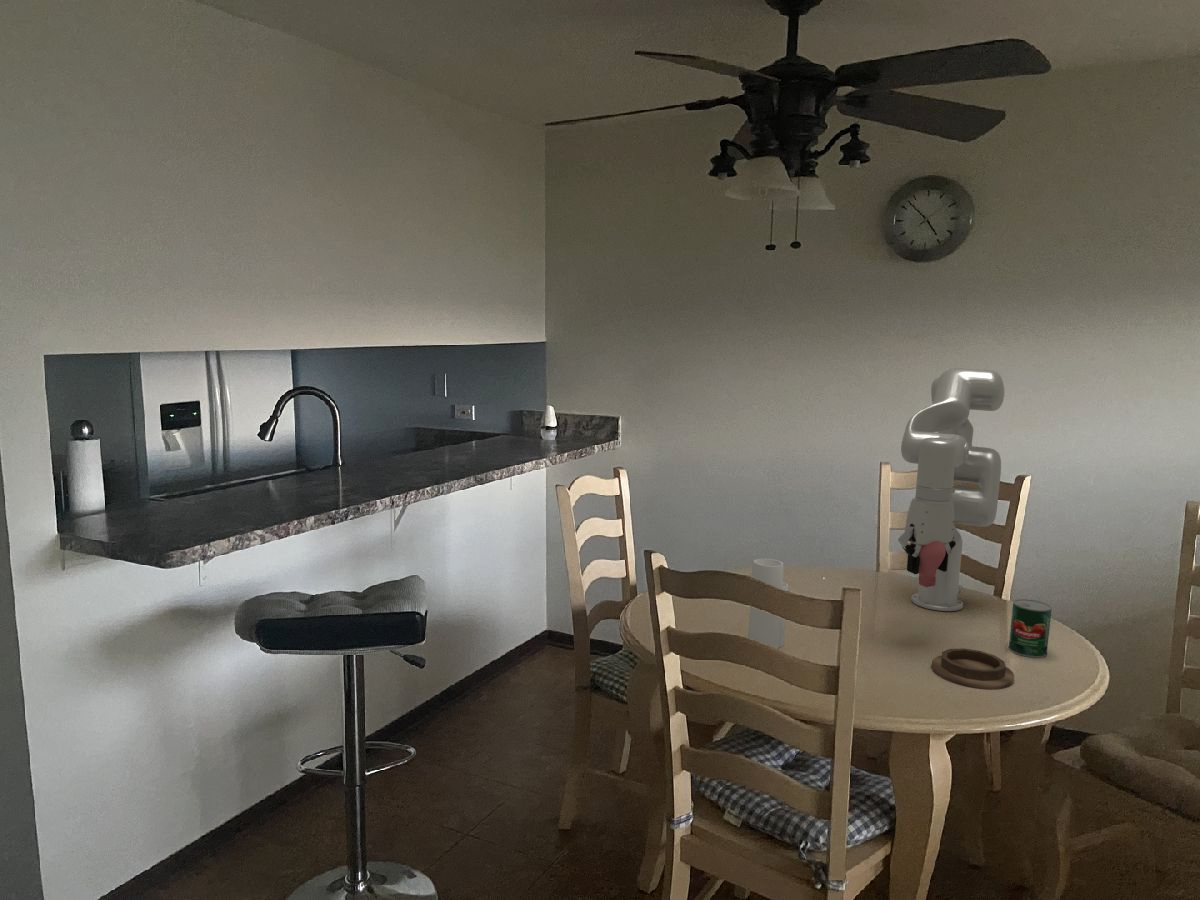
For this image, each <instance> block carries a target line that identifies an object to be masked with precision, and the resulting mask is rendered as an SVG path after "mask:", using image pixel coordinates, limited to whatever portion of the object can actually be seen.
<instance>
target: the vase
mask: <svg viewBox="0 0 1200 900" xmlns="http://www.w3.org/2000/svg"><path fill="white" fill-rule="evenodd" d="M784 566H785V564H784V562H783V561H781V560H777V559H775V558H754V560H752V565H751V579H752V578H755V579H757V580H760V581H762V582H765V583H767V584H770V585H772V586H775V587H777V588H780V589H782V590H785V591H788V592H789V584H788V583H787V582H784V580H783V579H784ZM748 617H749V618H748V630H747V631H748V634H747V639H748V638H749V639H753V640H756V641H760V642H762V643H765V644H768V645H770V646H772V647H774V648H777V649H778V650H779V648H782V647H784V646H785V642H786V641H785V640H786V623H787V620H786V621H785V620H783V619H781V618H779V617H777V616H775V615H772V614H769V613H766V612H764V611H761V610H757V609H754V608H752V607H750V606H749V615H748Z"/></svg>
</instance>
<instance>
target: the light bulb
mask: <svg viewBox="0 0 1200 900" xmlns="http://www.w3.org/2000/svg"><path fill="white" fill-rule="evenodd" d="M915 547H916V545H915V546H914V548H913V549H915ZM945 554H946V549H945V546H944V544H943V543H942V542H940V541H934V542H931V543H930V544H928V545H924V546H922V548H921V550H920V552H919V554H918V557H920V563H919V573H918V586H919V585H921V586H924V587H932V586H935V583H936V582H935V581H936V577H935V575H936V570H937V568H938V567H939V566H940V564H941V563H942V561H943V559H944V557H945Z"/></svg>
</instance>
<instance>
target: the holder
mask: <svg viewBox="0 0 1200 900" xmlns="http://www.w3.org/2000/svg"><path fill="white" fill-rule="evenodd" d="M930 666H931V667H932V668H931V670H932V669H933V670H932V671H933V673H935V674H936V675H937V674H938V675H939V676H938V675H937V676H938V677H940V676H941V677H940V678H942V677H943V678H942V679H944V680H946V679H947V680H946V681H948V680H949V681H948V682H951V681H952V682H951V683H953V682H954V683H953V684H956V683H957V685H960V686H965V687H969V688H975V689H980V688H981V690H999V688H1001V689H1005V688H1004V687H1006V688H1008V686H1009V687H1010V686H1012V685H1013V684H1014V682H1015V674H1014V672H1013V671H1012V669H1010V668H1009V667H1007V666H1006V662H1005V661H1004V660H1003V659H1001V658H1000V657H998V656H997V655H995V654H991V653H988V652H985V651H982V650H977V649H970V648H969V649H968V648H949V649H946V650H943V651H942V652H941V654H940V655H938V656H935V657H934V658H933V659H932V660H931V665H930Z"/></svg>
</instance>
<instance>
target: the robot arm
mask: <svg viewBox="0 0 1200 900" xmlns="http://www.w3.org/2000/svg"><path fill="white" fill-rule="evenodd" d="M930 394H931V402H932V404H929V405H927V406H925V407H924V408H922V409H920V410H919V411H918V412H916V413H914V414H913V415H912V416H911V417H910V418H909V420H908V422H907V423H906V426H905V429H904V432H903V436H902V440H901V447H900V453H901V456H902V458H903V460H904V461H905V462H907V463H909V464H915V465H917V471H916V472H917V475H916V486H915V494H914V495H915V498H912V499H911V500H910V504H909V507H908V511H907V515H906V522H905V526H904V527H905V528H904V532H903V533H902V534H901V535H900V536H899V537H898V538H897V541H898V543H899V545H901V547H902V549H903V550H904V551H905V554H906V555H907V561H906V563H907V564H906V571H908V573H911V574H913V575H919V563H920V557H918V554H919V552H920V550H921V548H922V546H924V545H928V544H930V543H931V542H934V541H940V542H942V543H943V544H944V546H945V549H946V554H945V557H944V559H943V561H942V563H941V564H940V566H939V567H938V568H937V570H936V575H935V577H936V581H935V582H936V583H935V586H932V587H924V586H921V585H919V584H918V592H916V593H914V594H912V595H911V602H912V603H913V604H915V605H916V606H919V607H922V608H925V609H928V610H932V611H939V612H955V611H960V610H962V609H963V607H964V602H963V601H962V600H961V599H960V598H958V595H959V594H960V593H963V592H964V589H965V588H964V586H963V585H961V584H959V583H960V582H959V581H960V573H961V566H962V565H961V563H962V562H961V561H962V555H963V553H962V552H963V538H962V535H961V533H960V531H959V530H958V529H957V527H956V526H955V524H956V525H967V526H974V527H989V526H991V525H992V524H994V522H995V520H996V516H997V509H998V502H999V493H1000V482H1001V475H1002V459H1001V455H1000V453H999V452H998V450H996V449H994V448H990V447H982V446H981V447H980V446H973V438H974V437H973V436H974V426H973V424H972V422H971V421H970V420H969V415H970V411H971V410H973V411H987V412H988V411H989V412H994V411H997V410H999V409H1000V408H1001V406H1002V404H1003V402H1004V398H1005V385H1004V381H1003V378H1002V376H1001V375H1000V374H999V373H998V372H997V371H995V370H991V369H978V368H977V369H976V368H951V369H946V370H945V371H943V372H942V373H941V375H940V376H938V377H937V378H934V380H933V381H932V383H931V387H930ZM955 482H957V483H966V484H974V485H976V486H977V485H978V488H977V487H969V486H968V487H967V486H961V485H954V483H955ZM915 545H916V547H915V549H913V548H914V546H915Z"/></svg>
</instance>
